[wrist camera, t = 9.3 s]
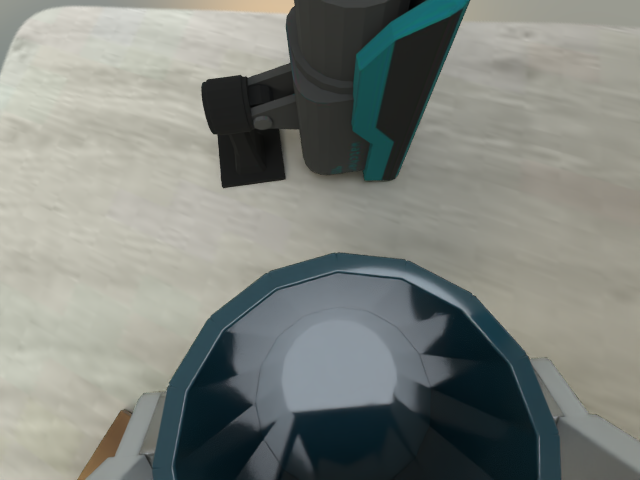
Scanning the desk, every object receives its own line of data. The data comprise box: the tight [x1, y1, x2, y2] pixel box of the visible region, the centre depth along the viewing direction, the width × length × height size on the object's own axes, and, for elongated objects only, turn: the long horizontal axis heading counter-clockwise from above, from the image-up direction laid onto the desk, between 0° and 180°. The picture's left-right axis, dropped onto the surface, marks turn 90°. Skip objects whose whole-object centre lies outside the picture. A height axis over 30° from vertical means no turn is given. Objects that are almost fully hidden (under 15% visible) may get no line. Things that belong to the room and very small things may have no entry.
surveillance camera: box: [201, 0, 470, 188], centre depth 17 cm, size 6×12×10 cm
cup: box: [152, 252, 561, 480], centre depth 11 cm, size 7×7×8 cm
